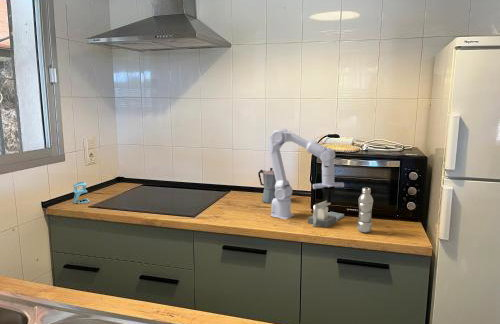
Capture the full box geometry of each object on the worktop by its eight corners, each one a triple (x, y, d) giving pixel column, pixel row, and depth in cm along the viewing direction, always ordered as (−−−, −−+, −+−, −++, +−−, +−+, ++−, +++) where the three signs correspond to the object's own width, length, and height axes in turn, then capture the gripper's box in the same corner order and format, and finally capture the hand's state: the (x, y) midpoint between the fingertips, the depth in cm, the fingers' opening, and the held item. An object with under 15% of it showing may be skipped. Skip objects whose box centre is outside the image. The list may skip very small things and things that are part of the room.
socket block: (307, 223, 181) (307, 217, 181) (317, 218, 189) (317, 212, 188) (326, 228, 175) (326, 221, 175) (336, 222, 183) (336, 216, 182)
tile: (319, 218, 190) (319, 215, 190) (327, 213, 197) (327, 210, 197) (336, 221, 184) (336, 218, 184) (343, 216, 191) (344, 214, 191)
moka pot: (276, 205, 213) (277, 170, 209) (253, 201, 221) (253, 167, 217) (284, 201, 221) (284, 167, 217) (261, 197, 229) (261, 165, 225)
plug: (316, 223, 182) (316, 207, 180) (320, 221, 185) (320, 205, 183) (323, 225, 179) (324, 208, 178) (327, 223, 182) (328, 207, 181)
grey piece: (315, 227, 175) (316, 206, 173) (312, 226, 176) (312, 205, 175) (330, 220, 184) (331, 200, 183) (326, 220, 186) (327, 199, 184)
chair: (72, 202, 220) (70, 182, 218) (87, 199, 225) (85, 180, 223) (74, 205, 214) (72, 184, 212) (90, 202, 219) (88, 182, 216)
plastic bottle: (357, 233, 168) (359, 189, 164) (356, 228, 174) (357, 186, 171) (372, 234, 167) (375, 190, 163) (370, 229, 173) (372, 186, 170)
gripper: (314, 177, 174) (315, 205, 176) (345, 175, 175) (346, 203, 177) (311, 174, 181) (312, 201, 183) (341, 172, 182) (341, 199, 184)
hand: (328, 202), depth 181 cm, fingers closed, pressing on grey piece
